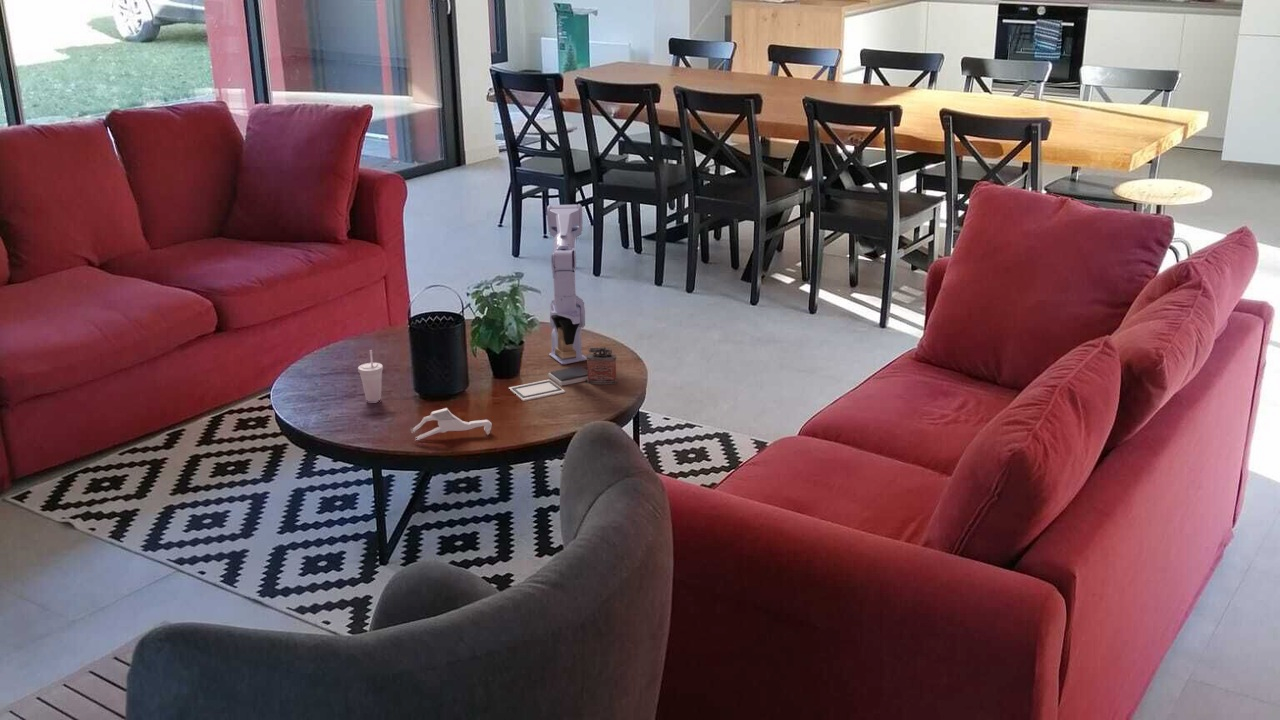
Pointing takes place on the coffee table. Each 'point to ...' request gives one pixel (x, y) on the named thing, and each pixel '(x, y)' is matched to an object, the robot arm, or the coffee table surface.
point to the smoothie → (371, 379)
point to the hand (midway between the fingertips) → (566, 342)
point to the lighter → (601, 366)
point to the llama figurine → (450, 423)
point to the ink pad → (569, 375)
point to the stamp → (564, 347)
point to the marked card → (536, 390)
